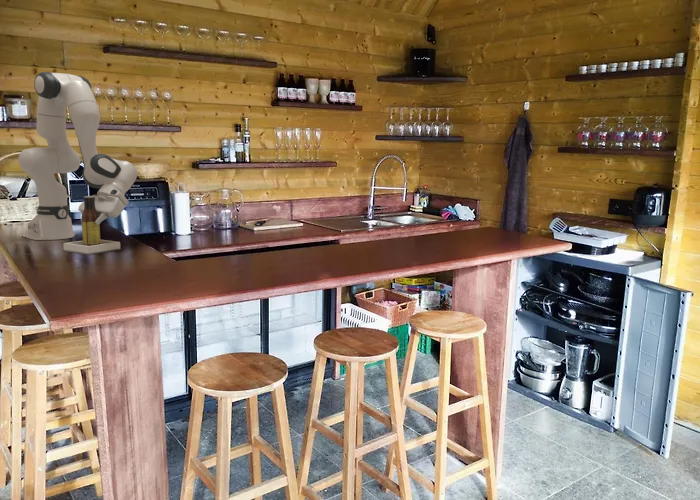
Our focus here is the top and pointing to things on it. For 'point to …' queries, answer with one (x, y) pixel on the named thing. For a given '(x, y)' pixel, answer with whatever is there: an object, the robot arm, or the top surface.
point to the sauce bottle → (90, 223)
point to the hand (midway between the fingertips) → (89, 222)
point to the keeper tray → (91, 247)
